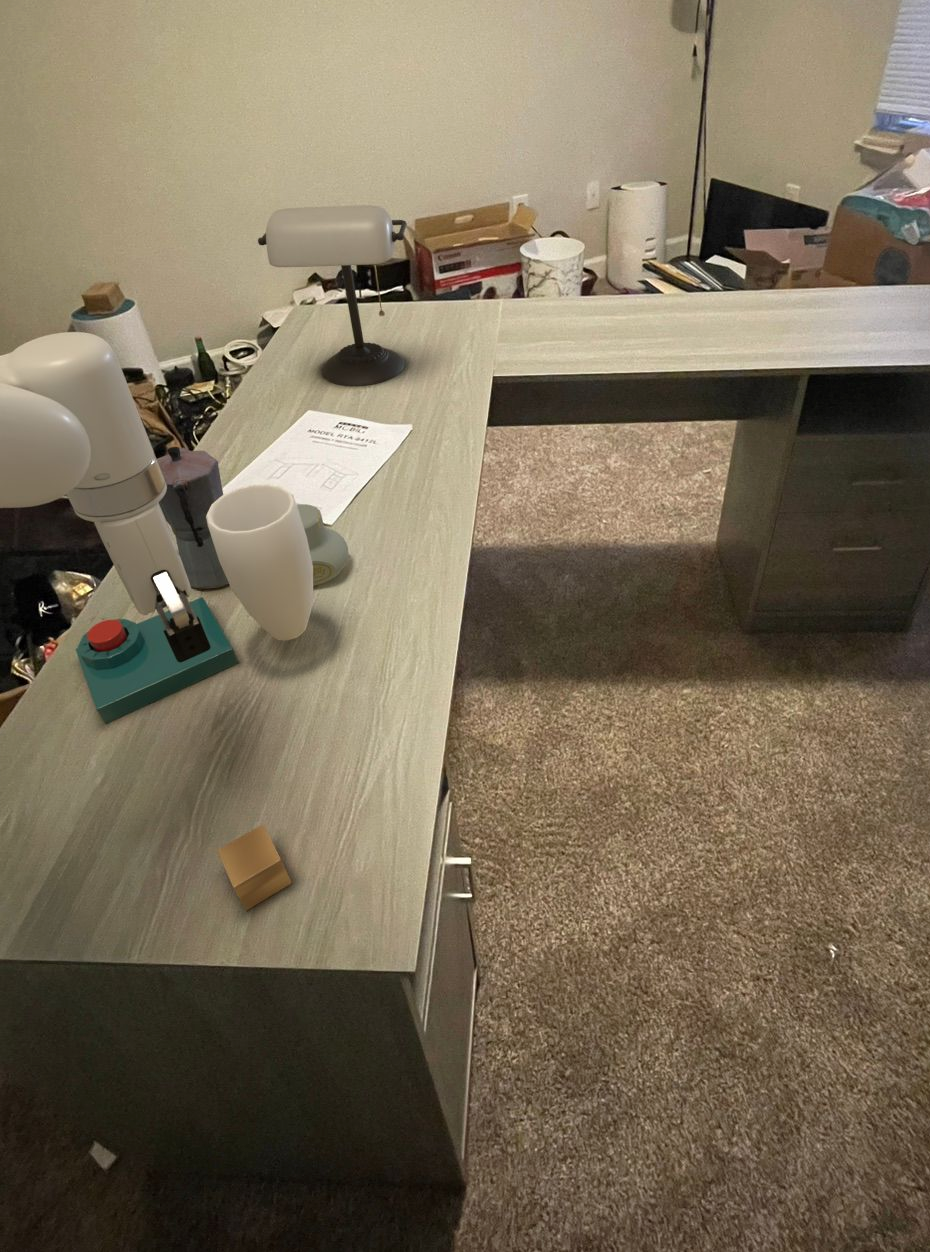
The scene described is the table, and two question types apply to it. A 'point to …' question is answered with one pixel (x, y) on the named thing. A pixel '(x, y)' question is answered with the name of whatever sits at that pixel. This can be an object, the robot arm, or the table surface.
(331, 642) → the table surface
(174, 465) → the moka pot
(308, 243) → the lamp
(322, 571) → the air freshener
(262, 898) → the block
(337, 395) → the table surface
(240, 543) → the cup
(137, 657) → the button base
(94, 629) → the red button
